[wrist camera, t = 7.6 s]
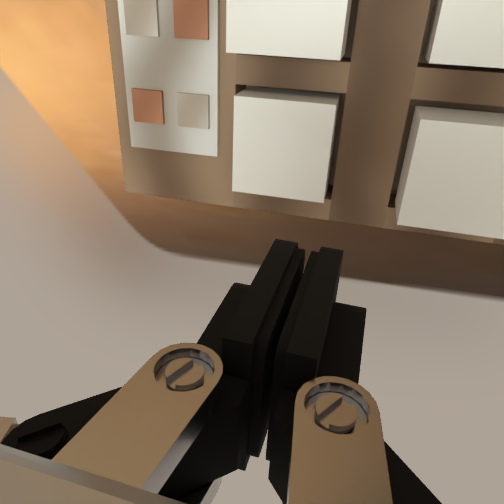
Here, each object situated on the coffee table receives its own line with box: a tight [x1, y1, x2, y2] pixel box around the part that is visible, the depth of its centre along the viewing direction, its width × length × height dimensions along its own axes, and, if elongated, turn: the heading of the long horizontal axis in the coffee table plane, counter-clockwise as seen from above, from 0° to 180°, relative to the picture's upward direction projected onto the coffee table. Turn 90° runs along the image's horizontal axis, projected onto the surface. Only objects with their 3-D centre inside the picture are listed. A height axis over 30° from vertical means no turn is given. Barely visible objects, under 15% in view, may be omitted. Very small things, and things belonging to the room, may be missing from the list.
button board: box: [105, 0, 504, 245], centre depth 21 cm, size 22×14×4 cm, turn 87°
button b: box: [395, 106, 504, 239], centre depth 19 cm, size 5×5×3 cm
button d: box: [232, 86, 341, 203], centre depth 22 cm, size 5×5×3 cm
